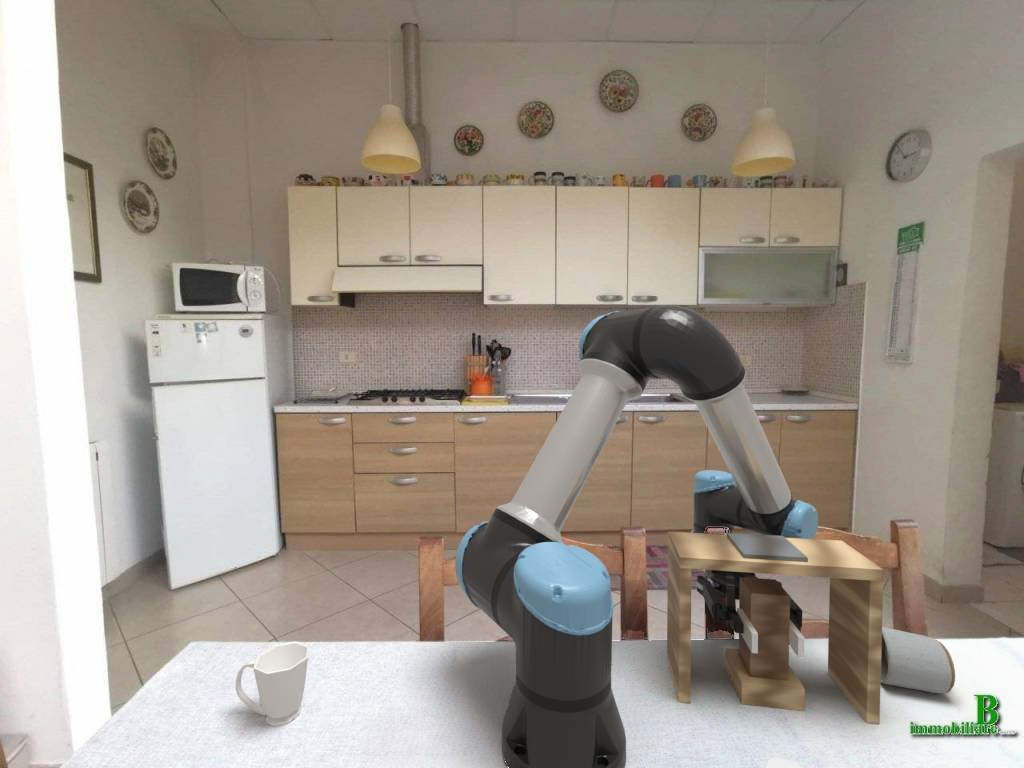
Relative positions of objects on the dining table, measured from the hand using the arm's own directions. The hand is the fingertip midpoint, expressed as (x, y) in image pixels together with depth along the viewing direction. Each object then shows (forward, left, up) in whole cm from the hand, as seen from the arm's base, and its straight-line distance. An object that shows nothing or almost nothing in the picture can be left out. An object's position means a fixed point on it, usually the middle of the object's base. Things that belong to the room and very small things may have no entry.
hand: (777, 645), depth 62 cm
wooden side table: (0, +5, -10) cm, 11 cm away
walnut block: (0, +5, -7) cm, 8 cm away
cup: (-67, -11, -10) cm, 69 cm away
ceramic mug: (+21, +11, -10) cm, 26 cm away
